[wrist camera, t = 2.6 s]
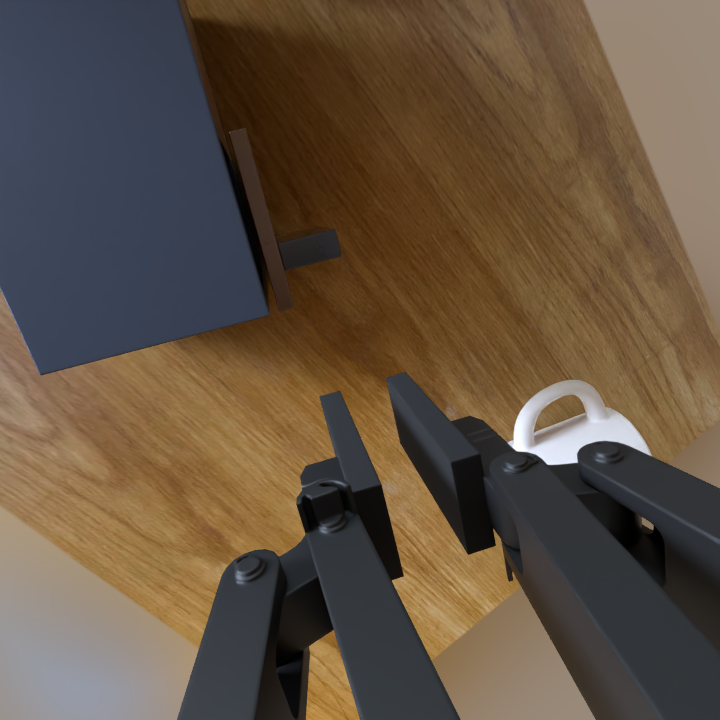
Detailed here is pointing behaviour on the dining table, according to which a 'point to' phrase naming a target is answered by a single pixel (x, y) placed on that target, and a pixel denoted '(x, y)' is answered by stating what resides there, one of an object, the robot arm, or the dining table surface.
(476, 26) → the dining table surface
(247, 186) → the sliding door
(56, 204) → the cabinet
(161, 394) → the dining table surface
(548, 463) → the mug
